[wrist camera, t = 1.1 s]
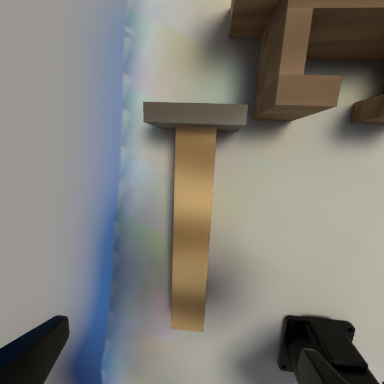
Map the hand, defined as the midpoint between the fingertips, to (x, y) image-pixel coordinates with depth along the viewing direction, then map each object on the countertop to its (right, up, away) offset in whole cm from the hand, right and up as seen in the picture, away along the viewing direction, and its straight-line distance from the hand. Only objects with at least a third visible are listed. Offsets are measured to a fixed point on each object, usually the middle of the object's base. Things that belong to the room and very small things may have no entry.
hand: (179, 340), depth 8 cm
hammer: (+1, +2, +12) cm, 12 cm away
